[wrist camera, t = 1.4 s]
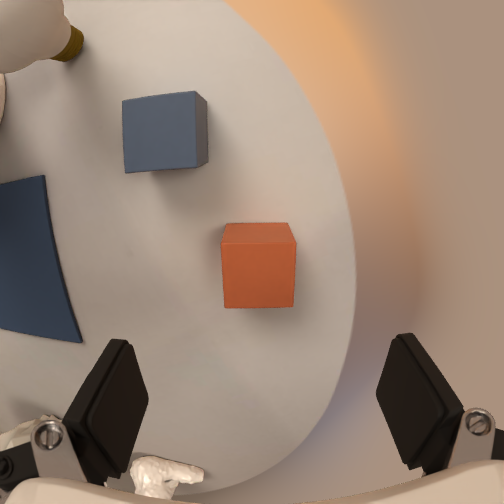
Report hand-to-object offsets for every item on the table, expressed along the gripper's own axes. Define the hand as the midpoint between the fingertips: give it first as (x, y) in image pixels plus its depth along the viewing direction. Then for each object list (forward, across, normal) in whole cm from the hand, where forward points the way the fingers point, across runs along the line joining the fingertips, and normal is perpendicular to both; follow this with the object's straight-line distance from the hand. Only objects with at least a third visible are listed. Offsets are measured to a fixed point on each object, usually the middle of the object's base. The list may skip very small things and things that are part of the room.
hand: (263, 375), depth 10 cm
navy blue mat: (+11, +23, 0) cm, 26 cm away
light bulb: (+11, +13, -16) cm, 24 cm away
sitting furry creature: (+12, +13, +30) cm, 35 cm away
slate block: (+11, +5, -8) cm, 15 cm away
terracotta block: (+11, 0, 0) cm, 11 cm away
